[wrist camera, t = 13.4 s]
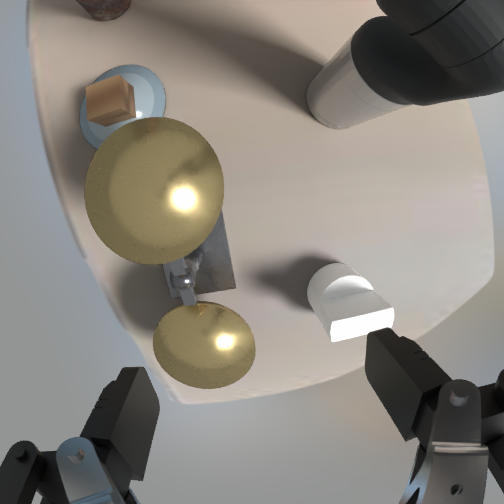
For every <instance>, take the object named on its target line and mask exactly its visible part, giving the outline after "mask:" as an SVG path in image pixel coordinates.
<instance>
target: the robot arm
mask: <svg viewBox="0 0 504 504" xmlns="http://www.w3.org/2000/svg"><path fill="white" fill-rule="evenodd" d="M376 2H377V4H378V6H379V7H380V9H381V10H382V11H383V12H384V13H385V14H386V15H387V16H379V17H375V18H372V19H370V20H368V21H367V22H365V23H364V24H363V25H362V26H361V27H360V28H359V29H358V30H357V31H356V32H355V33H354V34H353V35H352V37H351V38H350V39H349V40H348V41H347V42H346V43H345V44H344V45H343V47H342V48H341V49H340V50H339V51H338V52H337V53H336V54H335V55H334V56H333V58H332V59H331V60H330V61H329V62H328V63H327V64H326V65H325V67H324V68H323V69H322V70H321V71H320V72H319V73H318V74H317V76H316V77H315V78H314V79H313V80H312V81H311V83H310V84H309V86H308V89H307V92H306V100H307V105H308V107H309V110H310V112H311V113H312V115H313V116H314V117H315V118H316V119H317V120H318V121H319V122H320V123H322V124H323V125H325V126H327V127H330V128H333V129H346V128H349V127H352V126H354V125H357V124H360V123H363V122H365V121H368V120H371V119H373V118H376V117H379V116H381V115H384V114H387V113H390V112H392V111H395V110H398V109H401V108H404V107H407V106H409V105H412V104H415V105H420V106H426V105H432V104H437V103H441V102H447V101H453V100H459V99H466V98H474V97H479V96H486V95H490V94H494V93H498V92H501V91H504V0H376ZM365 372H366V376H367V379H368V381H369V383H370V384H371V386H372V388H373V389H374V391H375V392H376V394H377V396H378V397H379V399H380V400H381V402H382V403H383V405H384V407H385V409H386V410H387V412H388V413H389V415H390V416H391V418H392V420H393V422H394V423H395V425H396V426H397V428H398V430H399V432H400V433H401V435H402V437H403V438H404V440H405V441H408V440H411V439H413V438H415V437H417V438H418V440H419V441H420V442H419V445H418V448H417V452H416V456H415V460H414V463H413V467H412V470H411V473H410V477H409V480H408V483H407V486H406V489H405V492H404V494H403V496H402V498H401V500H400V502H399V504H483V500H484V494H485V487H486V479H487V469H488V468H489V470H490V471H491V473H492V474H493V476H494V478H495V479H496V481H497V483H498V484H499V486H500V488H501V489H502V491H503V493H504V370H502V371H501V373H500V374H499V376H498V379H497V381H496V383H493V384H489V385H485V386H481V387H477V386H476V385H475V384H473V383H472V382H469V381H467V380H461V379H456V380H452V379H451V378H450V377H449V376H448V375H447V374H446V373H445V372H444V371H443V370H442V369H441V368H440V367H439V366H438V364H437V363H436V362H435V361H434V360H433V359H432V358H429V355H428V354H427V353H426V352H425V351H423V350H422V348H421V347H420V346H419V345H418V344H417V343H416V342H415V341H412V340H410V339H408V338H406V337H404V336H402V337H398V336H397V335H396V333H395V332H394V331H393V330H392V329H391V328H389V327H386V328H382V329H379V330H375V331H371V332H369V333H368V335H367V346H366V359H365ZM159 411H160V405H159V400H158V397H157V394H156V392H155V390H154V388H153V386H152V383H151V381H150V379H149V376H148V374H147V372H146V370H145V368H144V367H124V368H122V370H121V371H120V374H119V375H118V377H117V379H116V381H112V382H110V383H109V384H108V385H107V386H106V387H105V388H104V389H103V391H102V393H101V395H100V397H99V401H97V402H96V405H95V409H93V410H92V413H91V414H90V416H89V418H88V420H87V422H86V425H85V426H84V429H83V431H82V433H81V435H80V437H74V438H70V439H68V440H66V441H64V442H63V443H62V444H61V445H60V446H59V448H58V449H57V451H45V452H40V451H39V450H38V449H37V447H36V446H35V445H34V444H33V443H32V442H30V441H20V442H17V443H15V444H14V445H13V446H12V447H11V448H10V449H9V451H8V453H7V455H6V457H5V459H4V461H3V463H2V465H1V466H0V504H31V503H32V500H33V497H34V495H35V492H36V491H37V492H38V493H39V494H40V495H41V496H43V497H42V500H41V503H40V504H140V502H139V501H138V499H137V498H136V496H135V495H134V493H133V491H132V490H131V488H130V487H129V485H130V480H138V481H143V478H144V473H145V469H146V465H147V461H148V456H149V452H150V448H151V444H152V440H153V436H154V431H155V427H156V424H157V420H158V416H159Z"/></svg>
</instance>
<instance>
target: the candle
mask: <svg viewBox="0 0 504 504" xmlns="http://www.w3.org/2000/svg"><path fill="white" fill-rule="evenodd" d="M76 1H77V2H79V4H80V5H81V6H82V7H83V8H84V9H85V10H86V11H87V12H88V13H90V15H92V16H93V17H94V18H95V19H97V20H100V21H103V20H111V19H116V18H118V17H119V16H121V15H122V14H123V13H124V12H125V10H126V9H127V8H128V7H129V5H130V0H76Z"/></svg>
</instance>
